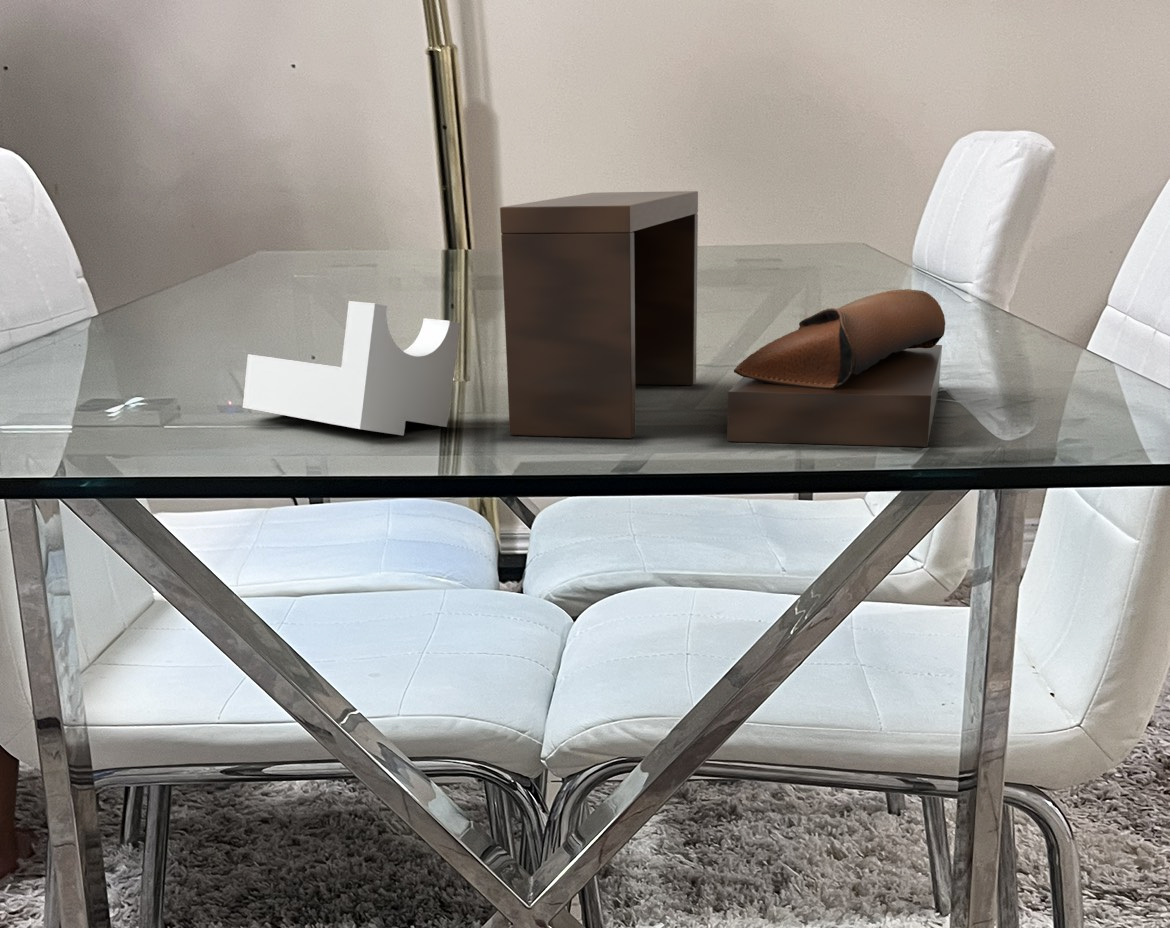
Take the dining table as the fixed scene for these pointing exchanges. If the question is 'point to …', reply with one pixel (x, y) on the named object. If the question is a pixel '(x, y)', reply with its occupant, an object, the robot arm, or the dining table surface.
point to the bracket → (363, 377)
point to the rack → (660, 333)
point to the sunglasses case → (848, 340)
